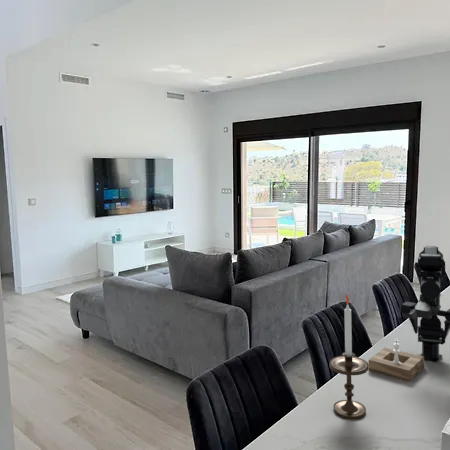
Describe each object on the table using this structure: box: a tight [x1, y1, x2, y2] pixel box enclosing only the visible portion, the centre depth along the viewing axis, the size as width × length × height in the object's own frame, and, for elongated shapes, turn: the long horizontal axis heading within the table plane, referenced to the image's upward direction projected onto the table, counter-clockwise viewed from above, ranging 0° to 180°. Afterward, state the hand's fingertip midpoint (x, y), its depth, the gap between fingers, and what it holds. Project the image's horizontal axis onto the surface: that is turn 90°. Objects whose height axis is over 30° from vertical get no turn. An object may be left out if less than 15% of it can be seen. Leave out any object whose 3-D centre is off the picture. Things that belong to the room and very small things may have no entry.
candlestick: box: [329, 293, 369, 420], centre depth 122 cm, size 11×11×35 cm
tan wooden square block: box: [367, 346, 425, 383], centre depth 149 cm, size 14×14×4 cm
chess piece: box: [392, 338, 403, 364], centre depth 148 cm, size 5×5×10 cm
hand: (430, 336), depth 143 cm, fingers open, 9 cm apart
